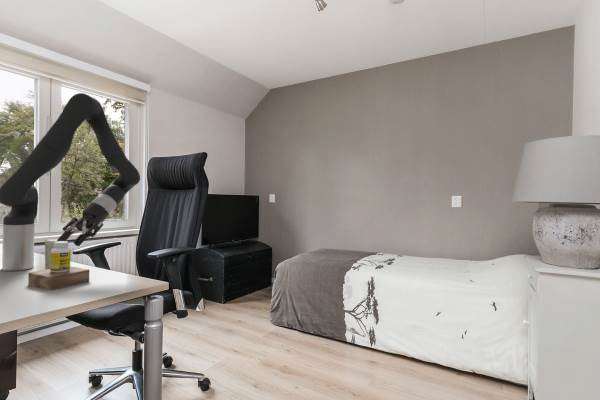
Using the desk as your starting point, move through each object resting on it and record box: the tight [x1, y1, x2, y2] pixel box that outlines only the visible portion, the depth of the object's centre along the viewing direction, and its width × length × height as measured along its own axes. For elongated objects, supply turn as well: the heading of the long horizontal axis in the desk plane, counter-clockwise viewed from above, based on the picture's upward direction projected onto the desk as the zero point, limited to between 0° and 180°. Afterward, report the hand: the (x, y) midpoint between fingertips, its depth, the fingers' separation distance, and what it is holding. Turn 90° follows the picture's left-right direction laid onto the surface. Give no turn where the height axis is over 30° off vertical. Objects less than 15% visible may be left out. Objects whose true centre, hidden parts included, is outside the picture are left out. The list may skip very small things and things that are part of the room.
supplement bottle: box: [50, 240, 72, 273], centre depth 111 cm, size 5×5×10 cm
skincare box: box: [44, 238, 58, 270], centre depth 124 cm, size 6×4×12 cm
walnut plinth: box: [27, 265, 90, 291], centre depth 111 cm, size 12×12×4 cm
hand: (67, 243), depth 113 cm, fingers open, 8 cm apart
